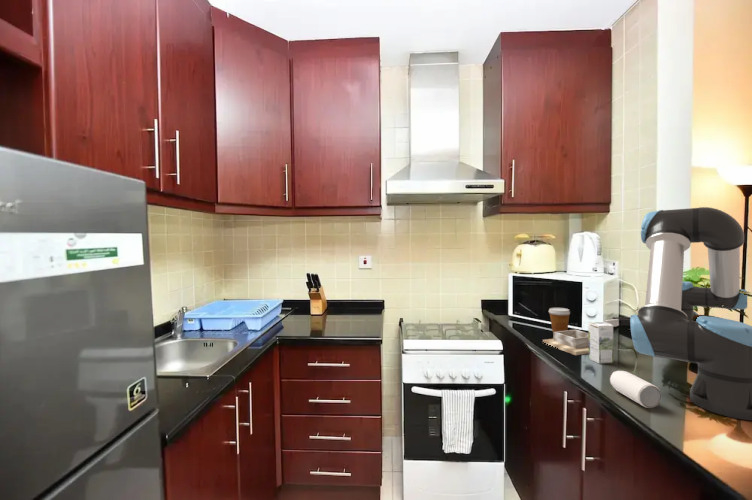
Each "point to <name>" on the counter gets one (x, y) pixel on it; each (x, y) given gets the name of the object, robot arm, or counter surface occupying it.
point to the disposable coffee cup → (559, 319)
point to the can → (636, 388)
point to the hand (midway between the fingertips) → (620, 327)
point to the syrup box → (600, 342)
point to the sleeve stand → (570, 341)
